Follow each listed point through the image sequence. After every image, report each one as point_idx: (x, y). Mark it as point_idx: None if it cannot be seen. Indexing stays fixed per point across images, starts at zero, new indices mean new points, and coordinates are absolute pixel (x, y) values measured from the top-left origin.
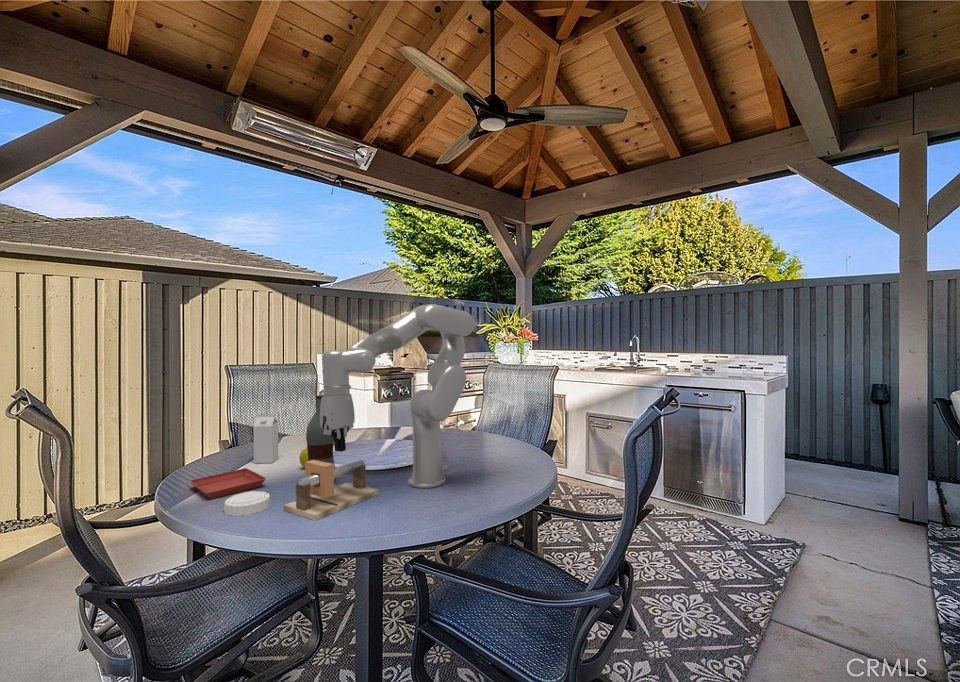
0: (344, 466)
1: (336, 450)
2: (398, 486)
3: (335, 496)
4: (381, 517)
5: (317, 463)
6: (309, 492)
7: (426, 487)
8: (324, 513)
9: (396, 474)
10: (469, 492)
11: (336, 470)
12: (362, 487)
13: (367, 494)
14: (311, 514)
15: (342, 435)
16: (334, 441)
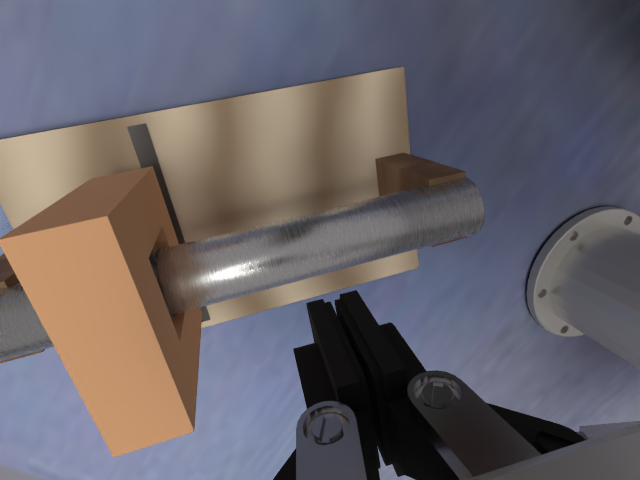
0: (336, 262)
1: (311, 323)
2: (507, 236)
3: (249, 218)
4: (283, 439)
5: (92, 352)
6: None
7: (536, 321)
8: None
9: (618, 94)
10: (559, 416)
11: (262, 288)
12: None
13: (358, 282)
14: None
15: (415, 474)
16: (306, 403)
